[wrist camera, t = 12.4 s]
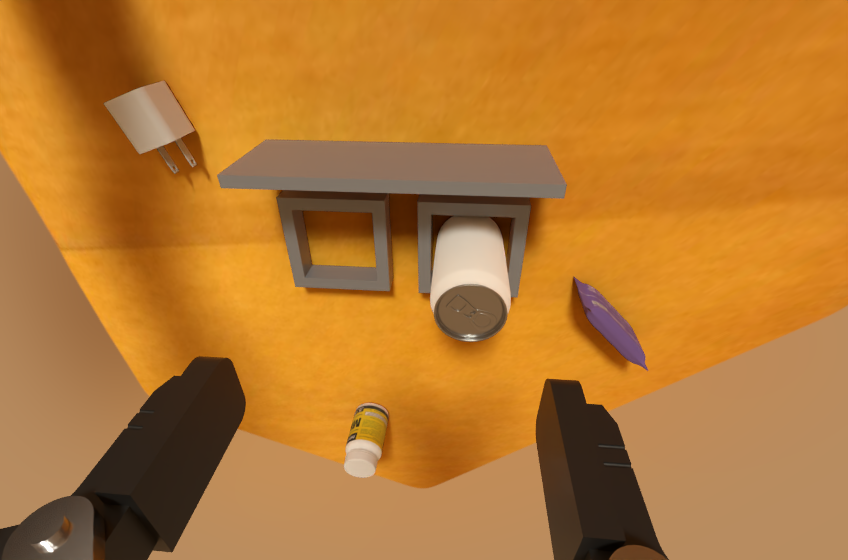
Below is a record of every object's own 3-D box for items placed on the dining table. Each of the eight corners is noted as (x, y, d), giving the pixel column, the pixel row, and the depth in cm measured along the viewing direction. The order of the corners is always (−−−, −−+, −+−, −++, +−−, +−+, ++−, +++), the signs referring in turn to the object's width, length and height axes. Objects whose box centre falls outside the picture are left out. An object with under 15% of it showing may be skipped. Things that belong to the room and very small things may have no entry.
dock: (294, 273, 46) (261, 326, 39) (265, 139, 38) (217, 174, 31) (524, 283, 44) (535, 341, 37) (546, 145, 36) (566, 184, 29)
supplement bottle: (360, 397, 57) (345, 453, 50) (393, 407, 58) (383, 463, 51) (352, 418, 60) (336, 473, 53) (383, 427, 60) (372, 483, 53)
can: (473, 277, 45) (475, 358, 35) (424, 243, 43) (411, 318, 33) (516, 235, 41) (531, 310, 32) (464, 196, 40) (464, 264, 30)
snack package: (565, 280, 44) (575, 310, 40) (581, 270, 43) (593, 299, 39) (625, 343, 48) (640, 376, 44) (641, 334, 47) (657, 367, 43)
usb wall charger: (168, 79, 36) (137, 88, 33) (214, 155, 40) (191, 170, 36) (132, 94, 37) (99, 104, 34) (180, 168, 41) (155, 183, 37)
